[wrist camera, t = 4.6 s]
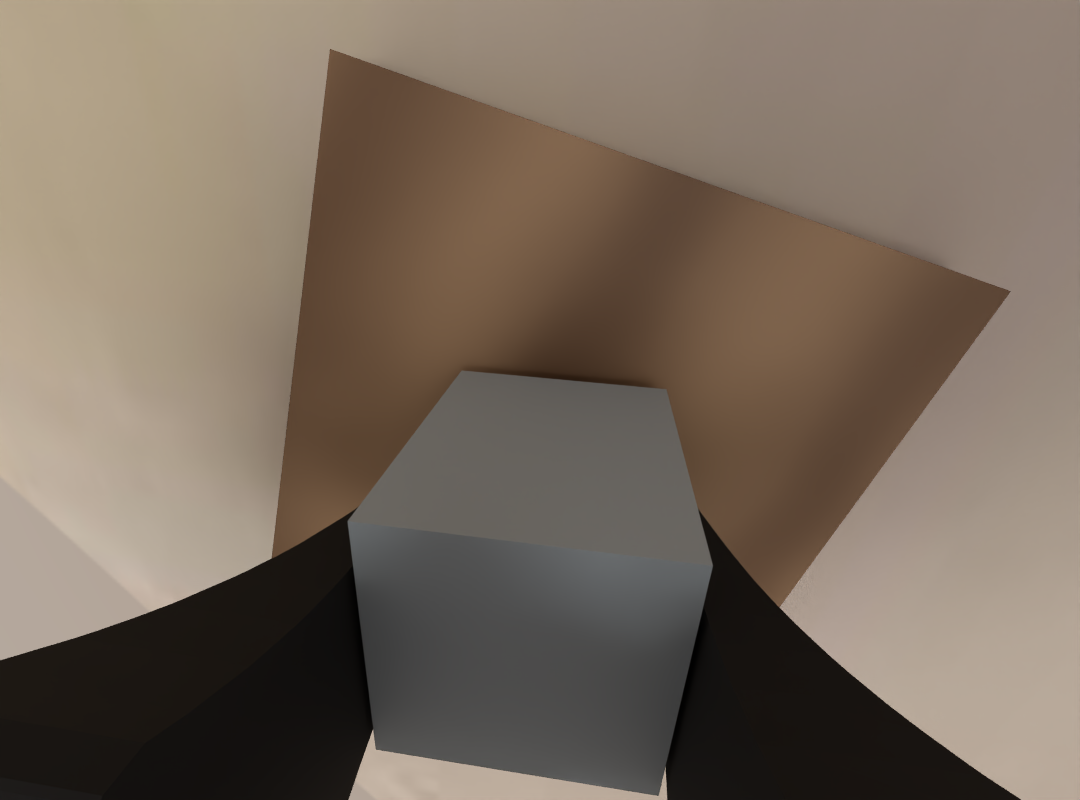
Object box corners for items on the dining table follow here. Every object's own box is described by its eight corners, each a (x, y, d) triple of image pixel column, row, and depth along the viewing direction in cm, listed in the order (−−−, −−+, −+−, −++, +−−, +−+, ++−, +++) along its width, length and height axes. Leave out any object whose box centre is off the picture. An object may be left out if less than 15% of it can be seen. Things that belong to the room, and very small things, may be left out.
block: (666, 389, 11) (712, 565, 6) (639, 555, 13) (658, 795, 8) (461, 370, 12) (347, 520, 6) (463, 533, 13) (375, 749, 8)
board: (949, 272, 12) (1010, 291, 10) (690, 660, 18) (699, 715, 16) (373, 67, 12) (330, 48, 10) (305, 529, 18) (270, 571, 16)
